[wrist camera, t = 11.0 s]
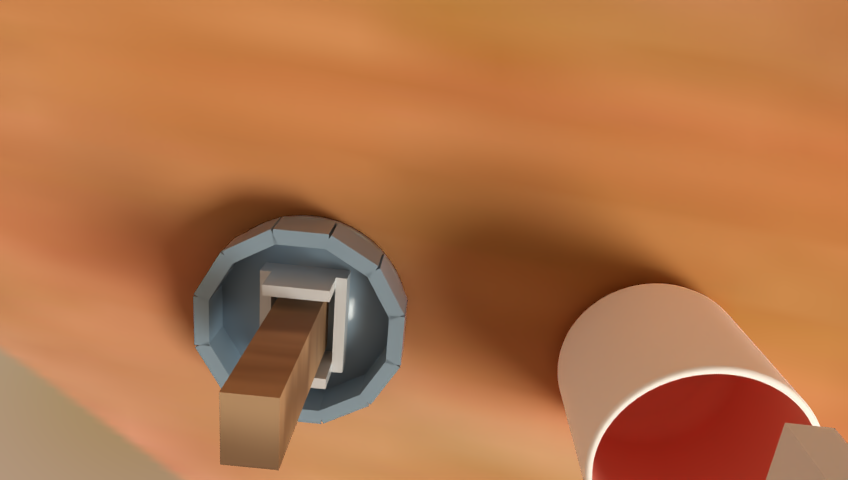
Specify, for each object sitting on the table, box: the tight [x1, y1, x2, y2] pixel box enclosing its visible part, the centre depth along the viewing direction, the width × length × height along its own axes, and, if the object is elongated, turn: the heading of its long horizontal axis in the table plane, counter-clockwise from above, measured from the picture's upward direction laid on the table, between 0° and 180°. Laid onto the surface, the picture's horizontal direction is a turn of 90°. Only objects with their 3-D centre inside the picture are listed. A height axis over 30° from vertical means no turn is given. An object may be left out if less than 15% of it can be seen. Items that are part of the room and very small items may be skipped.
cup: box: [558, 283, 820, 480], centre depth 34 cm, size 10×10×10 cm
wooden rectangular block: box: [219, 297, 329, 470], centre depth 32 cm, size 3×2×11 cm
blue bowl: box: [193, 215, 408, 424], centre depth 37 cm, size 11×11×4 cm
